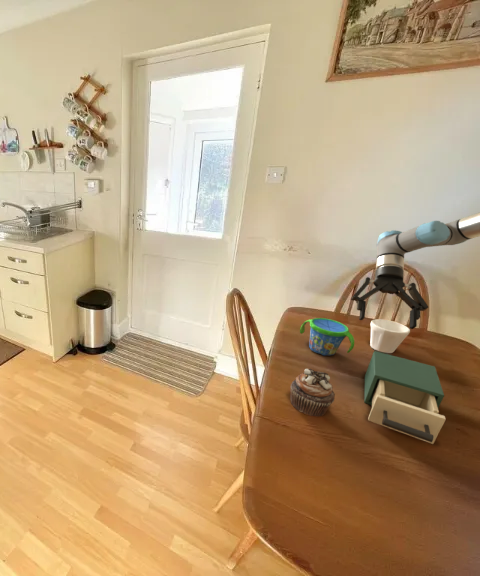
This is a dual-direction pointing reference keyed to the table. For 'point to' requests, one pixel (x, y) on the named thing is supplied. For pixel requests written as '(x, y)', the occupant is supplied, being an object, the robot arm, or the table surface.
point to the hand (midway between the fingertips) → (386, 323)
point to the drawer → (406, 411)
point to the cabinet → (402, 375)
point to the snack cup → (327, 335)
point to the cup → (387, 335)
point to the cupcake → (312, 392)
